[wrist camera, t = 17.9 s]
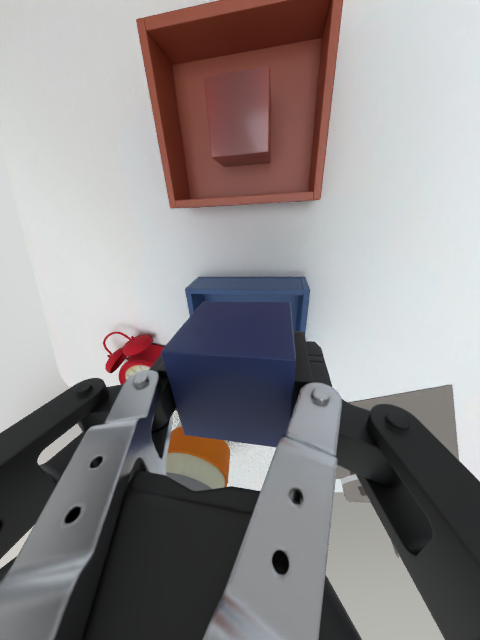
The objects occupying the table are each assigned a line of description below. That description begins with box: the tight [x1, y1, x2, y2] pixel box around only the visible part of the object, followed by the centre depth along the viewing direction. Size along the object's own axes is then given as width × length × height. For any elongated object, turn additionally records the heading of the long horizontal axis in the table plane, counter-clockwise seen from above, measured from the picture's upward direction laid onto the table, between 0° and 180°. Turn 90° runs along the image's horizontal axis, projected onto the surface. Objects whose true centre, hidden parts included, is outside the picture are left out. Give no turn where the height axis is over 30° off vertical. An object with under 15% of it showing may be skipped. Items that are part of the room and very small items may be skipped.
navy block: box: [161, 301, 296, 447], centre depth 10 cm, size 4×4×4 cm
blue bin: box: [185, 277, 310, 335], centre depth 26 cm, size 13×11×4 cm
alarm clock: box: [103, 332, 164, 385], centre depth 33 cm, size 10×6×15 cm
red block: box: [204, 66, 272, 167], centre depth 17 cm, size 4×4×4 cm
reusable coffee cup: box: [166, 421, 230, 491], centre depth 34 cm, size 13×13×15 cm
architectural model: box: [336, 385, 459, 557], centre depth 30 cm, size 21×25×14 cm
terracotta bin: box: [136, 0, 343, 208], centre depth 17 cm, size 13×11×4 cm
